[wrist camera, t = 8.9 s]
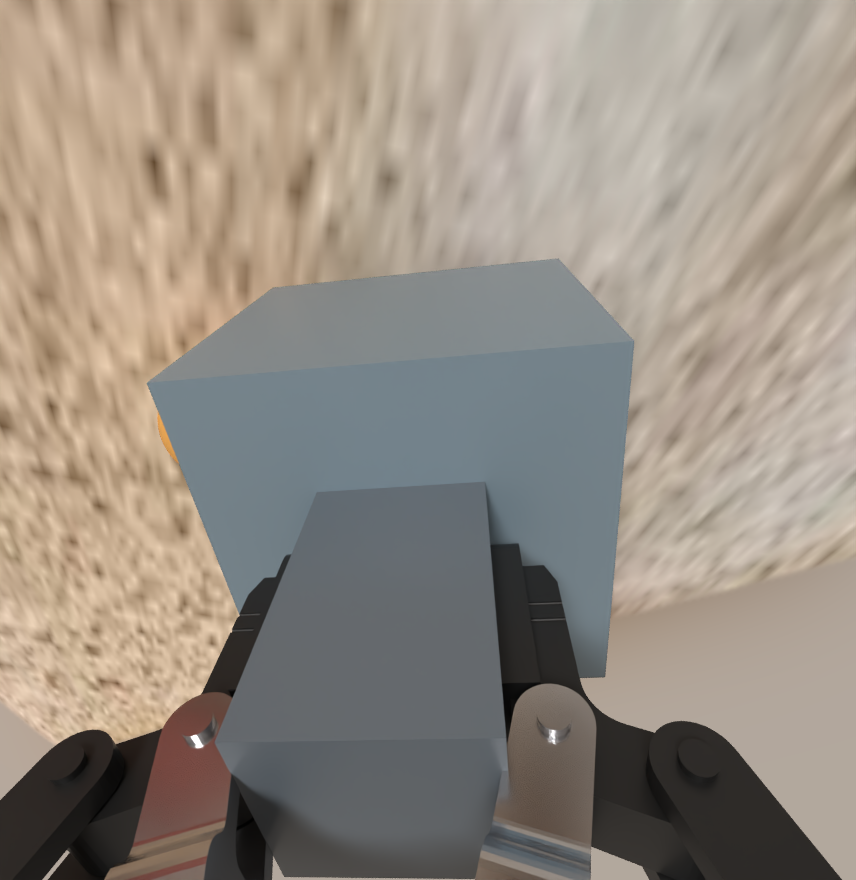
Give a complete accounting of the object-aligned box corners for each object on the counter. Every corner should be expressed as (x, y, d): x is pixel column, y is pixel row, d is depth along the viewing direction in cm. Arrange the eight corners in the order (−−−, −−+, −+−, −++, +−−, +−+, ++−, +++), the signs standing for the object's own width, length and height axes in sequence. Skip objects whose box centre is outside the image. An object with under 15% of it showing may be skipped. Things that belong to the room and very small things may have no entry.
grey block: (558, 258, 18) (818, 541, 5) (555, 499, 23) (682, 955, 10) (273, 287, 19) (-127, 587, 6) (329, 512, 24) (177, 943, 11)
